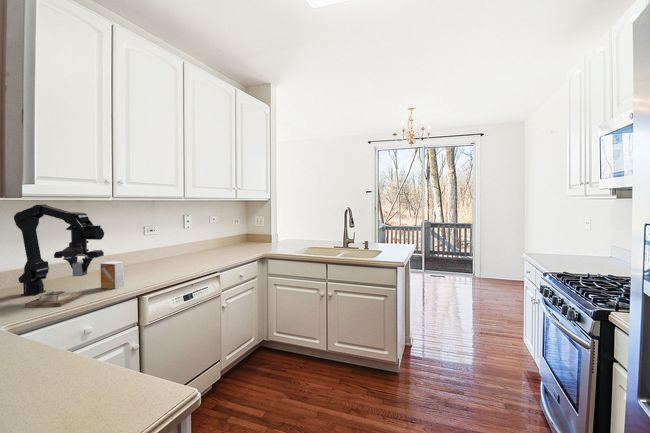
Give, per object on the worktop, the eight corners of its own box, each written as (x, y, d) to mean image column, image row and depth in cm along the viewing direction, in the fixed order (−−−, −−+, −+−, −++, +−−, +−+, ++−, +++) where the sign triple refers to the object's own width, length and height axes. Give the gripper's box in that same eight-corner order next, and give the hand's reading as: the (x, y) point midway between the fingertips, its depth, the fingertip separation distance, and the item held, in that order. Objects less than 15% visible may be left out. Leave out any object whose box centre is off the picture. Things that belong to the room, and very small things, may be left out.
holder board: (25, 307, 132) (24, 298, 131) (50, 296, 145) (50, 289, 145) (61, 306, 133) (60, 298, 133) (83, 296, 147) (82, 288, 147)
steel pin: (72, 276, 147) (72, 263, 146) (78, 274, 151) (78, 261, 150) (81, 276, 147) (81, 263, 147) (87, 274, 151) (87, 261, 151)
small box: (100, 288, 159) (99, 263, 159) (110, 285, 166) (109, 260, 165) (115, 289, 159) (114, 263, 158) (124, 285, 165) (123, 261, 164)
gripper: (44, 241, 139) (45, 276, 140) (89, 241, 141) (90, 275, 142) (62, 238, 150) (63, 270, 151) (103, 238, 152) (104, 270, 153)
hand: (79, 271), depth 149 cm, fingers closed on steel pin, 4 cm apart
